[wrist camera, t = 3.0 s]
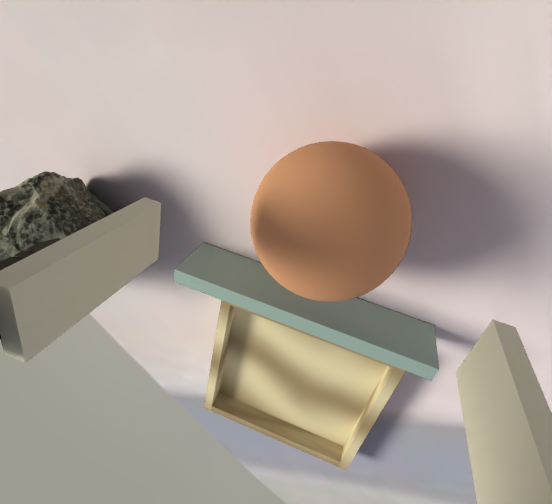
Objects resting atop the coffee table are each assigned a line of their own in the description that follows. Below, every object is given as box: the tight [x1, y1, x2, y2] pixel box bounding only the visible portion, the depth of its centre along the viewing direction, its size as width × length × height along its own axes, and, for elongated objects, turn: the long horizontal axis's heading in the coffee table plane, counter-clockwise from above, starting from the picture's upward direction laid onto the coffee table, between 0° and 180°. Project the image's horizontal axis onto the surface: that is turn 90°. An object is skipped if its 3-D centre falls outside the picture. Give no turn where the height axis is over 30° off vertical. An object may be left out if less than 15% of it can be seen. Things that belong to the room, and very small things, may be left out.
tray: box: [204, 300, 405, 470], centre depth 29 cm, size 13×13×2 cm
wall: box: [173, 242, 439, 381], centre depth 24 cm, size 1×17×4 cm, turn 77°
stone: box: [0, 172, 114, 262], centre depth 26 cm, size 10×10×10 cm
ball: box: [250, 141, 412, 302], centre depth 18 cm, size 8×8×8 cm
